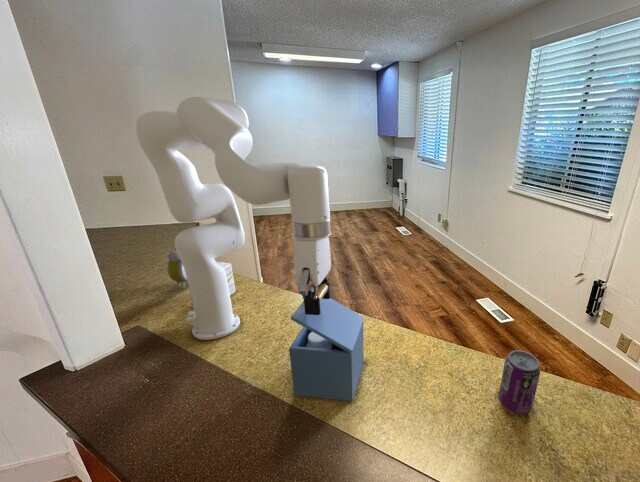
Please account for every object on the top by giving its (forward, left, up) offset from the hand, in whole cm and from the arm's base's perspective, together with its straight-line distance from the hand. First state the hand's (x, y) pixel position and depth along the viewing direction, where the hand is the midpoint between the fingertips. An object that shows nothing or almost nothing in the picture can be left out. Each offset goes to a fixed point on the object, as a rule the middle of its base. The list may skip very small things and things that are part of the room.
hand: (318, 305), depth 68 cm
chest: (+2, 0, -20) cm, 20 cm away
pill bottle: (-1, 0, -19) cm, 19 cm away
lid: (+2, 0, -3) cm, 4 cm away
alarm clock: (-68, +40, -20) cm, 81 cm away
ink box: (-50, +33, -20) cm, 63 cm away
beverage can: (+45, -2, -20) cm, 49 cm away
